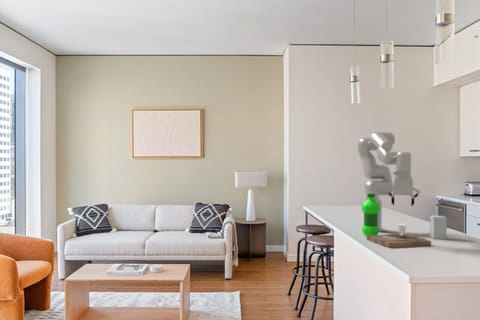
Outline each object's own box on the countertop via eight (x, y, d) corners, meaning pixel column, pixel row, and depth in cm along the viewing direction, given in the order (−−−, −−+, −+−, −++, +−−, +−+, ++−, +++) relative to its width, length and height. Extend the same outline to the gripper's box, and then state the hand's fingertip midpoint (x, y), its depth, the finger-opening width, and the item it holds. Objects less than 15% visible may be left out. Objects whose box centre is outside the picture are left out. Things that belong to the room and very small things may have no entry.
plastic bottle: (371, 234, 248) (372, 192, 248) (383, 237, 238) (384, 194, 238) (357, 235, 245) (358, 193, 245) (369, 238, 235) (369, 194, 235)
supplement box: (446, 239, 235) (447, 217, 235) (432, 238, 237) (433, 216, 236) (443, 237, 242) (443, 215, 242) (429, 236, 244) (430, 215, 244)
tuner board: (366, 239, 231) (366, 234, 231) (406, 238, 238) (406, 233, 237) (388, 247, 212) (388, 242, 212) (431, 245, 218) (431, 240, 218)
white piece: (398, 239, 219) (398, 226, 219) (399, 235, 231) (399, 223, 231) (404, 240, 218) (404, 227, 218) (405, 235, 230) (405, 223, 230)
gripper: (386, 174, 227) (385, 205, 227) (420, 175, 220) (419, 207, 221) (387, 173, 234) (386, 203, 234) (420, 174, 227) (419, 205, 227)
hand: (402, 205), depth 227 cm, fingers open, 9 cm apart
